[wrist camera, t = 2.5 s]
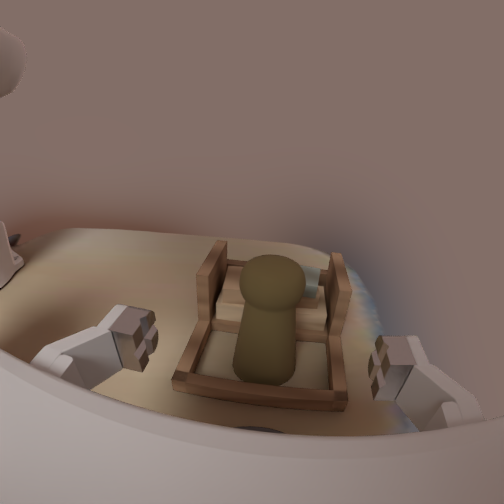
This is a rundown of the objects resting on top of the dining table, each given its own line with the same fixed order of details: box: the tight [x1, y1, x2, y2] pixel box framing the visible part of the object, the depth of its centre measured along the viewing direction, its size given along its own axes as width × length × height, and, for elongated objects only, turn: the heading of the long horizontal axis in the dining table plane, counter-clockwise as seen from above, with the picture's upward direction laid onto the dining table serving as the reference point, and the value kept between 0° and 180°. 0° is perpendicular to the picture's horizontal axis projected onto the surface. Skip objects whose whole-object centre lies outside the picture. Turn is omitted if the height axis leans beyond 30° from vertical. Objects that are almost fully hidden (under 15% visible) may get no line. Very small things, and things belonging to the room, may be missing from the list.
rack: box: [171, 240, 352, 411], centre depth 30 cm, size 18×15×7 cm
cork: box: [232, 255, 306, 386], centre depth 25 cm, size 6×6×11 cm
